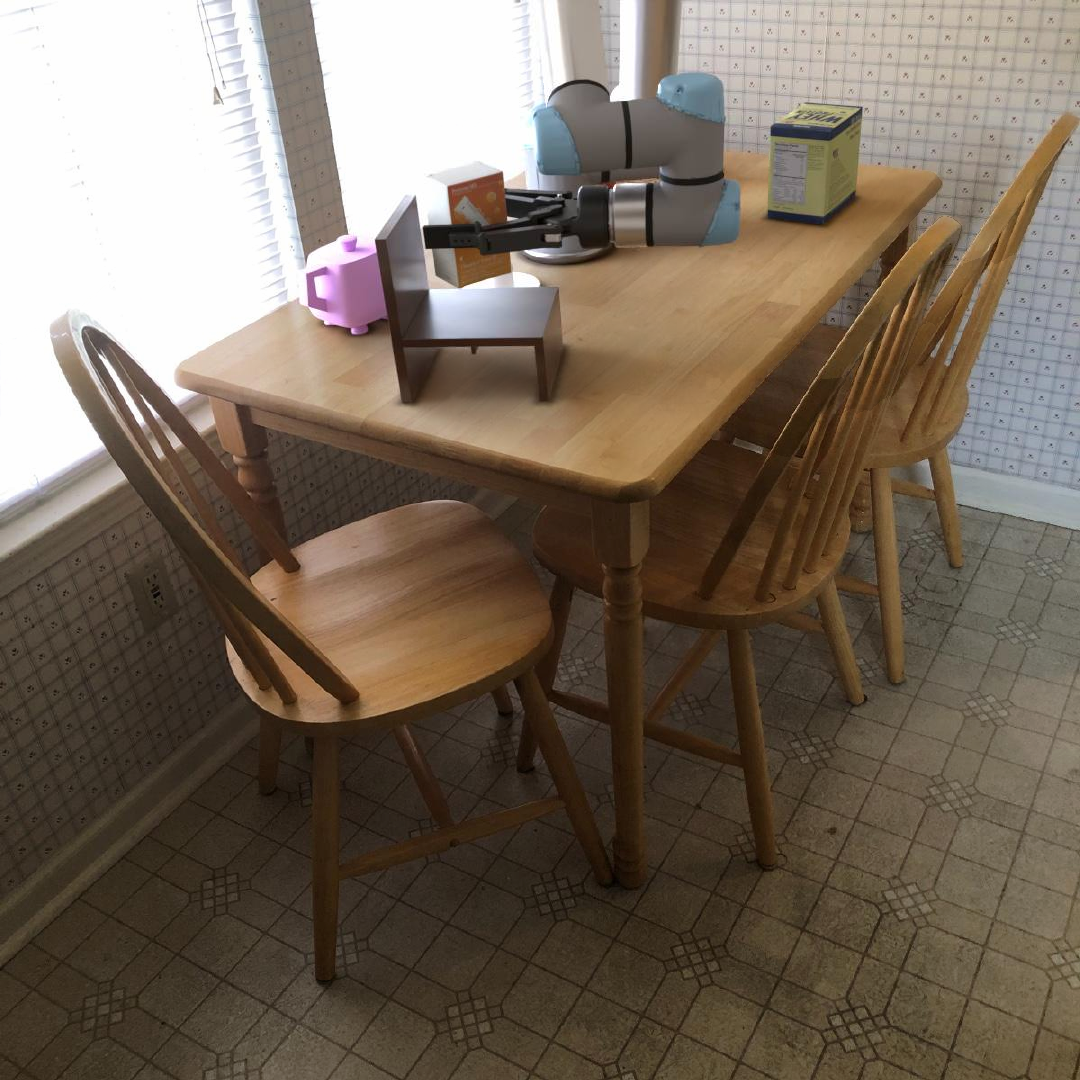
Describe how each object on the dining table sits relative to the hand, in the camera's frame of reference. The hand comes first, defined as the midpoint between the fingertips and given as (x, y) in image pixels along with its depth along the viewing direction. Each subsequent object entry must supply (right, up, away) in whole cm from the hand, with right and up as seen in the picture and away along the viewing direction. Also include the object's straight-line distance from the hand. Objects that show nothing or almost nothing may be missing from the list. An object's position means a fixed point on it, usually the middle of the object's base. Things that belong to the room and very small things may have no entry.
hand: (433, 222), depth 140 cm
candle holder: (+7, -1, +35) cm, 35 cm away
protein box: (+60, +18, +54) cm, 83 cm away
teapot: (-14, -6, +30) cm, 34 cm away
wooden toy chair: (+7, -17, +11) cm, 22 cm away
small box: (+5, -6, +3) cm, 8 cm away
